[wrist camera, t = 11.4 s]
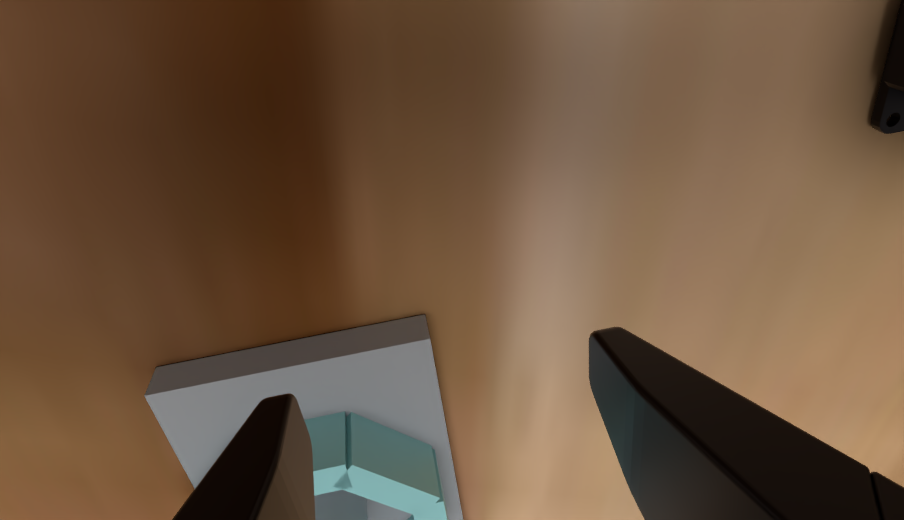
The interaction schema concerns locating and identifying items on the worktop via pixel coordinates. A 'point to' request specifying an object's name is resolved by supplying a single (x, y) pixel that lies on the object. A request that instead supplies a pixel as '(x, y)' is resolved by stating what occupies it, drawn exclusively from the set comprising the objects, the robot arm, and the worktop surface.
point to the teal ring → (376, 465)
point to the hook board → (311, 399)
